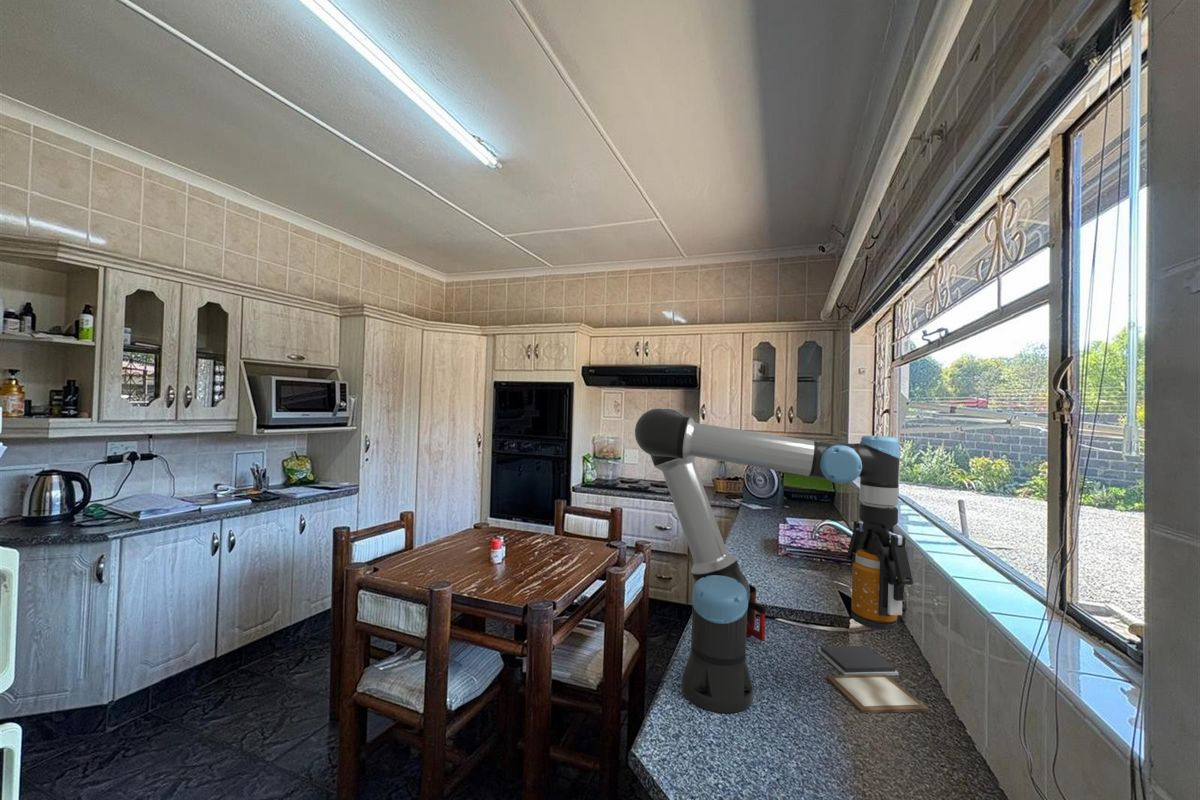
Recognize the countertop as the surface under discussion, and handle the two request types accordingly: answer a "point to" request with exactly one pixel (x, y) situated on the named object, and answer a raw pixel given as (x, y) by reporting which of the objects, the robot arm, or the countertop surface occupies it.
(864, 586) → the canister
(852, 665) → the ink pad
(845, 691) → the box board
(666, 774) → the countertop surface
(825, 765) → the countertop surface
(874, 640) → the countertop surface
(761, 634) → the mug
